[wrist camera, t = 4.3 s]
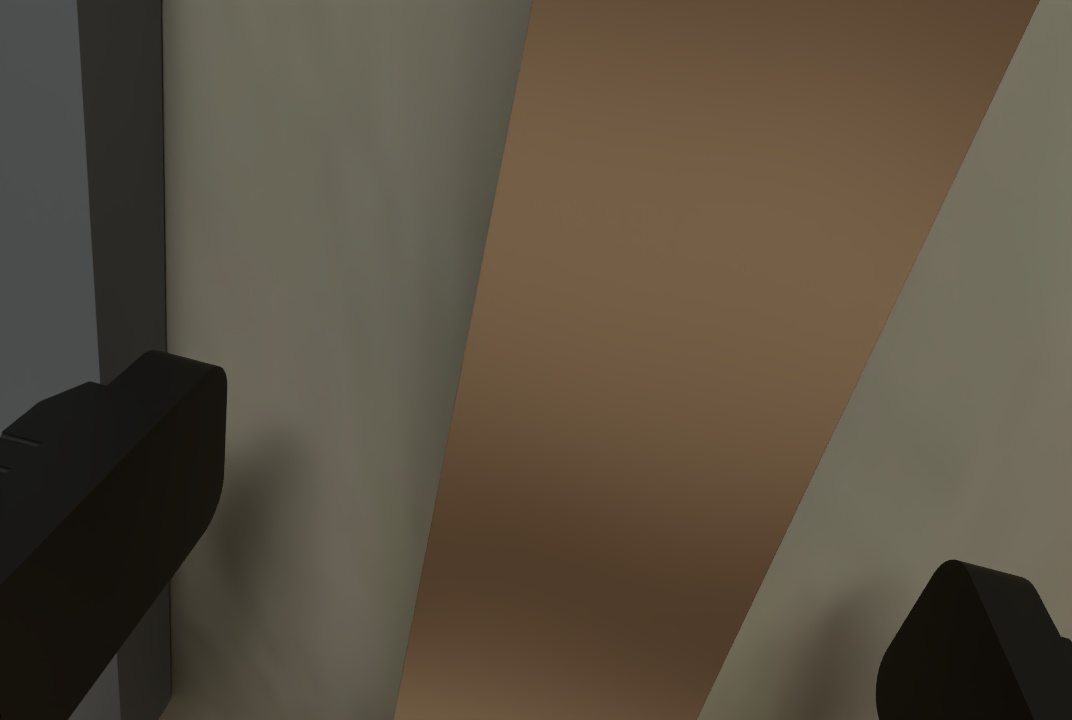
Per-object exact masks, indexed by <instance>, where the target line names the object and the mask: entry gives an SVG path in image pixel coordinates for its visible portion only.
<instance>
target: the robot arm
mask: <svg viewBox="0 0 1072 720" xmlns="http://www.w3.org/2000/svg"><path fill="white" fill-rule="evenodd" d="M226 407H227V377H226V374H225V371H224V370H223V368H221V367H219V366H216V365H212V364H208V363H204V362H200V361H196V360H192V359H189V358H185V357H181V356H177V355H173V354H169V353H166V352H162V351H158V350H150V351H147V352H145V353H144V354H143V355H141V356H140V357H139V358H138V359H137V360H136V361H134V362H133V363H132V364H131V365H130V366H129V367H128V368H126V369H125V370H124V371H123V372H122V373H121V374H120V375H118V376H117V377H116V378H115V379H114V380H113V381H112V382H110V383H109V384H108V385H107V386H106V385H103V384H99V383H95V382H91V381H89V382H86V383H84V384H81V385H79V386H76V387H74V388H71V389H69V390H66V391H64V392H62V393H59V394H57V395H54V396H52V397H49V398H47V399H44V400H42V401H39V402H38V403H37V404H36V405H34V406H33V407H32V408H31V409H29V410H28V411H27V412H26V413H24V414H23V415H22V416H21V417H19V418H18V419H17V420H16V421H14V422H13V423H12V424H11V425H9V426H8V427H7V428H6V429H5V430H3V431H2V434H1V437H0V720H68V719H69V718H70V716H71V715H72V714H73V712H74V711H75V709H76V708H77V707H78V705H79V704H80V703H81V701H82V700H83V698H84V697H85V696H86V694H87V693H88V692H89V690H90V689H91V687H92V686H93V685H94V683H95V682H96V681H97V679H98V678H99V676H100V675H101V674H102V672H103V671H104V670H105V668H106V667H107V666H108V664H109V663H110V661H111V660H112V659H113V657H114V656H115V655H116V653H117V652H118V650H119V649H120V648H121V646H122V645H123V644H124V642H125V641H126V639H127V638H128V637H129V635H130V634H131V633H132V631H133V630H134V628H135V627H136V626H137V624H138V623H139V622H140V620H141V619H142V617H143V616H144V615H145V613H146V612H147V611H148V609H149V608H150V606H151V605H152V604H153V602H154V601H155V600H156V598H157V597H158V595H159V594H160V593H161V591H162V590H163V589H164V587H165V586H166V584H167V583H168V582H169V580H170V579H171V578H172V576H173V575H174V574H175V572H176V571H177V569H178V568H179V567H180V565H181V564H182V563H183V561H184V560H185V558H186V557H187V556H188V554H189V553H190V552H191V550H192V549H193V547H194V546H195V545H196V543H197V542H198V541H199V539H200V538H201V536H202V535H203V534H204V532H205V531H206V529H207V527H208V525H209V524H210V522H211V520H212V518H213V515H214V513H215V511H216V508H217V505H218V502H219V499H220V495H221V491H222V487H223V480H224V461H225V434H226ZM876 705H877V712H878V716H879V720H1072V641H1071V640H1070V639H1068V638H1064V637H1061V636H1060V634H1059V632H1058V630H1057V628H1056V627H1055V625H1054V623H1053V621H1052V619H1051V617H1050V615H1049V613H1048V611H1047V609H1046V608H1045V606H1044V604H1043V602H1042V600H1041V598H1040V596H1039V594H1038V592H1037V591H1036V589H1035V587H1034V586H1033V585H1032V584H1031V583H1030V582H1029V581H1028V580H1027V579H1025V578H1023V577H1019V576H1015V575H1012V574H1008V573H1004V572H1000V571H996V570H992V569H989V568H985V567H981V566H977V565H973V564H969V563H965V562H962V561H958V560H949V561H946V562H944V563H943V564H942V565H940V566H939V568H938V569H937V570H936V571H935V573H934V574H933V576H932V577H931V579H930V581H929V582H928V584H927V585H926V587H925V589H924V590H923V592H922V594H921V595H920V597H919V598H918V600H917V602H916V603H915V605H914V607H913V608H912V610H911V611H910V613H909V615H908V616H907V618H906V620H905V621H904V623H903V625H902V626H901V628H900V629H899V631H898V633H897V634H896V636H895V638H894V639H893V641H892V642H891V644H890V646H889V647H888V649H887V651H886V652H885V654H884V656H883V659H882V661H881V664H880V668H879V672H878V676H877V684H876Z"/></svg>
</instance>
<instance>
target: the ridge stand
mask: <svg viewBox="0 0 1072 720" xmlns="http://www.w3.org/2000/svg"><path fill="white" fill-rule="evenodd" d="M150 350H158V351H162V352H166V325H165V256H164V186H163V117H162V47H161V0H0V437H1V434H2V431H3V430H5V429H6V428H7V427H8V426H9V425H11V424H12V423H13V422H14V421H16V420H17V419H18V418H19V417H21V416H22V415H23V414H24V413H26V412H27V411H28V410H29V409H31V408H32V407H33V406H34V405H36V404H37V403H38V402H39V401H42V400H44V399H47V398H49V397H52V396H54V395H57V394H59V393H62V392H64V391H66V390H69V389H71V388H74V387H76V386H79V385H81V384H84V383H86V382H89V381H91V382H95V383H99V384H103V385H106V386H107V385H108V384H109V383H110V382H112V381H113V380H114V379H115V378H116V377H117V376H118V375H120V374H121V373H122V372H123V371H124V370H125V369H126V368H128V367H129V366H130V365H131V364H132V363H133V362H134V361H136V360H137V359H138V358H139V357H140V356H141V355H143V354H144V353H145V352H147V351H150ZM170 699H171V673H170V603H169V582H168V583H167V584H166V586H165V587H164V589H163V590H162V591H161V593H160V594H159V595H158V597H157V598H156V600H155V601H154V602H153V604H152V605H151V606H150V608H149V609H148V611H147V612H146V613H145V615H144V616H143V617H142V619H141V620H140V622H139V623H138V624H137V626H136V627H135V628H134V630H133V631H132V633H131V634H130V635H129V637H128V638H127V639H126V641H125V642H124V644H123V645H122V646H121V648H120V649H119V650H118V652H117V653H116V655H115V656H114V657H113V659H112V660H111V661H110V663H109V664H108V666H107V667H106V668H105V670H104V671H103V672H102V674H101V675H100V676H99V678H98V679H97V681H96V682H95V683H94V685H93V686H92V687H91V689H90V690H89V692H88V693H87V694H86V696H85V697H84V698H83V700H82V701H81V703H80V704H79V705H78V707H77V708H76V709H75V711H74V712H73V714H72V715H71V716H70V718H69V719H68V720H158V719H159V717H160V715H161V714H162V712H163V711H164V709H165V707H166V706H167V704H168V703H169V701H170Z"/></svg>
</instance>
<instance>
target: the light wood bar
mask: <svg viewBox="0 0 1072 720" xmlns="http://www.w3.org/2000/svg"><path fill="white" fill-rule="evenodd" d="M1039 1H1040V0H533V3H532V8H531V13H530V18H529V23H528V28H527V34H526V39H525V44H524V49H523V54H522V59H521V65H520V70H519V75H518V80H517V85H516V90H515V95H514V101H513V106H512V111H511V116H510V121H509V126H508V131H507V137H506V142H505V147H504V152H503V157H502V162H501V168H500V173H499V178H498V183H497V188H496V193H495V198H494V204H493V209H492V214H491V219H490V224H489V229H488V234H487V240H486V245H485V250H484V255H483V260H482V265H481V271H480V276H479V281H478V286H477V291H476V296H475V301H474V307H473V312H472V317H471V322H470V327H469V332H468V337H467V343H466V348H465V353H464V358H463V363H462V368H461V373H460V379H459V384H458V389H457V394H456V399H455V404H454V410H453V415H452V420H451V425H450V430H449V435H448V440H447V446H446V451H445V456H444V461H443V466H442V471H441V477H440V482H439V487H438V492H437V497H436V502H435V507H434V513H433V518H432V523H431V528H430V533H429V538H428V543H427V549H426V554H425V559H424V564H423V569H422V574H421V579H420V585H419V590H418V595H417V600H416V605H415V610H414V616H413V621H412V626H411V631H410V636H409V641H408V646H407V652H406V657H405V662H404V667H403V672H402V677H401V682H400V688H399V693H398V698H397V703H396V708H395V713H394V719H393V720H697V718H698V716H699V714H700V711H701V709H702V707H703V705H704V703H705V701H706V699H707V697H708V695H709V693H710V691H711V688H712V686H713V684H714V682H715V680H716V678H717V676H718V674H719V672H720V670H721V667H722V665H723V663H724V661H725V659H726V657H727V655H728V653H729V651H730V649H731V646H732V644H733V642H734V640H735V638H736V636H737V634H738V632H739V630H740V628H741V625H742V623H743V621H744V619H745V617H746V615H747V613H748V611H749V609H750V607H751V605H752V602H753V600H754V598H755V596H756V594H757V592H758V590H759V588H760V586H761V584H762V581H763V579H764V577H765V575H766V573H767V571H768V569H769V567H770V565H771V563H772V560H773V558H774V556H775V554H776V552H777V550H778V548H779V546H780V544H781V542H782V540H783V537H784V535H785V533H786V531H787V529H788V527H789V525H790V523H791V521H792V519H793V516H794V514H795V512H796V510H797V508H798V506H799V504H800V502H801V500H802V498H803V495H804V493H805V491H806V489H807V487H808V485H809V483H810V481H811V479H812V477H813V475H814V472H815V470H816V468H817V466H818V464H819V462H820V460H821V458H822V456H823V454H824V451H825V449H826V447H827V445H828V443H829V441H830V439H831V437H832V435H833V433H834V430H835V428H836V426H837V424H838V422H839V420H840V418H841V416H842V414H843V412H844V410H845V407H846V405H847V403H848V401H849V399H850V397H851V395H852V393H853V391H854V389H855V386H856V384H857V382H858V380H859V378H860V376H861V374H862V372H863V370H864V368H865V365H866V363H867V361H868V359H869V357H870V355H871V353H872V351H873V349H874V347H875V345H876V342H877V340H878V338H879V336H880V334H881V332H882V330H883V328H884V326H885V324H886V321H887V319H888V317H889V315H890V313H891V311H892V309H893V307H894V305H895V303H896V300H897V298H898V296H899V294H900V292H901V290H902V288H903V286H904V284H905V282H906V280H907V277H908V275H909V273H910V271H911V269H912V267H913V265H914V263H915V261H916V259H917V256H918V254H919V252H920V250H921V248H922V246H923V244H924V242H925V240H926V238H927V235H928V233H929V231H930V229H931V227H932V225H933V223H934V221H935V219H936V217H937V215H938V212H939V210H940V208H941V206H942V204H943V202H944V200H945V198H946V196H947V194H948V191H949V189H950V187H951V185H952V183H953V181H954V179H955V177H956V175H957V173H958V170H959V168H960V166H961V164H962V162H963V160H964V158H965V156H966V154H967V152H968V149H969V147H970V145H971V143H972V141H973V139H974V137H975V135H976V133H977V131H978V129H979V126H980V124H981V122H982V120H983V118H984V116H985V114H986V112H987V110H988V108H989V105H990V103H991V101H992V99H993V97H994V95H995V93H996V91H997V89H998V87H999V84H1000V82H1001V80H1002V78H1003V76H1004V74H1005V72H1006V70H1007V68H1008V66H1009V64H1010V61H1011V59H1012V57H1013V55H1014V53H1015V51H1016V49H1017V47H1018V45H1019V43H1020V40H1021V38H1022V36H1023V34H1024V32H1025V30H1026V28H1027V26H1028V24H1029V22H1030V19H1031V17H1032V15H1033V13H1034V11H1035V9H1036V7H1037V5H1038V3H1039Z"/></svg>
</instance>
